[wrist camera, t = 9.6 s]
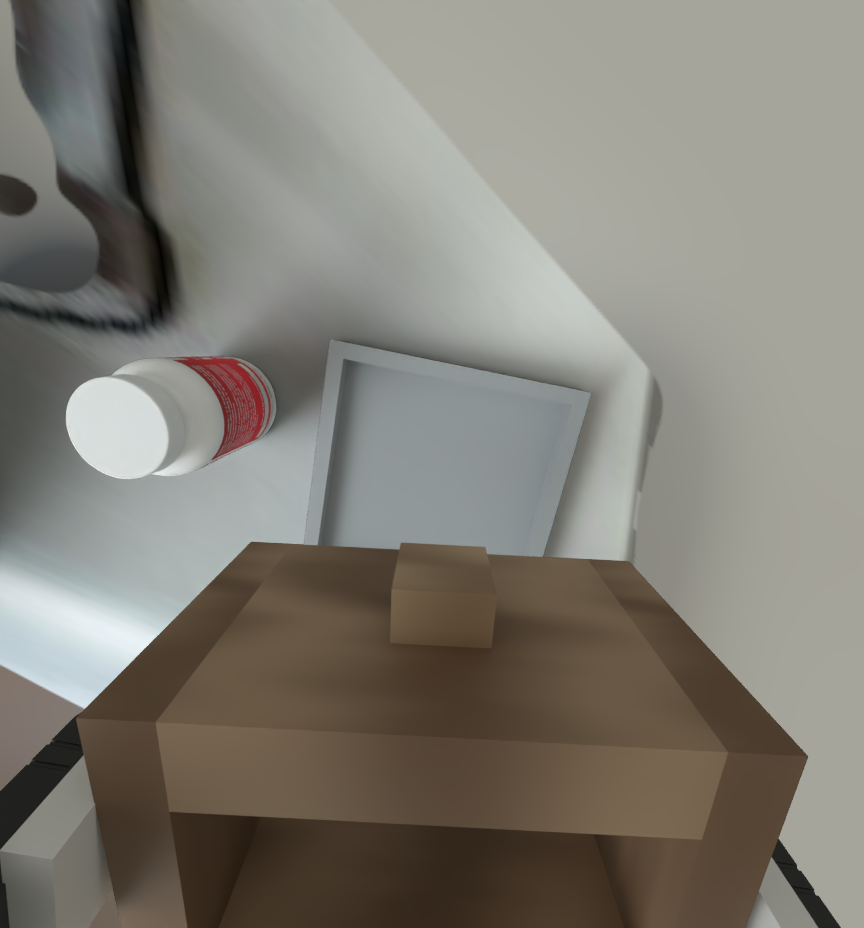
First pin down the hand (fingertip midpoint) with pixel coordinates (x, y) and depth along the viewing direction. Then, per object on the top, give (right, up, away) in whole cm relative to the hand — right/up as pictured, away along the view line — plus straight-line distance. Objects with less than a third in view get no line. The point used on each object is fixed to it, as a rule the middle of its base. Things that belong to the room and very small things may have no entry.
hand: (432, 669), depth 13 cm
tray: (0, +5, +17) cm, 18 cm away
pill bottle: (-14, +11, +16) cm, 24 cm away
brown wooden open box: (0, 0, 0) cm, 0 cm away
